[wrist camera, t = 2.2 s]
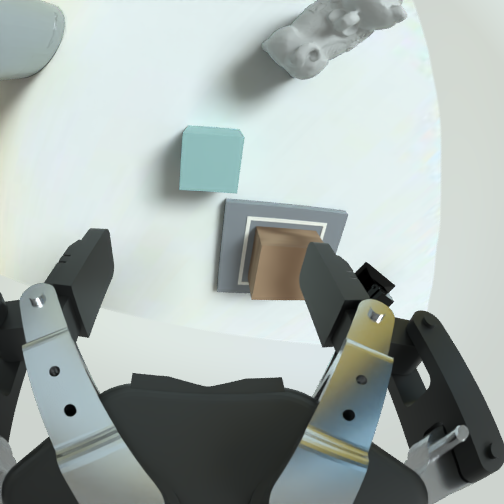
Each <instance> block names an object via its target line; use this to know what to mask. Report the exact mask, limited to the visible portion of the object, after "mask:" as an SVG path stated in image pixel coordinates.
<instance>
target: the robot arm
mask: <svg viewBox="0 0 504 504" xmlns="http://www.w3.org/2000/svg"><path fill="white" fill-rule="evenodd" d="M64 25H65V21H64V15H63V13H62V11H61V10H60V8H59V7H57V6H55V5H53V4H50V3H47V2H45V1H42V0H0V80H9V79H17V78H25V77H29V76H31V75H33V74H35V73H37V72H38V71H39V70H41V69H42V68H43V67H44V66H45V65H46V64H47V63H48V62H49V60H50V59H51V58H52V56H53V55H54V54H55V52H56V50H57V48H58V46H59V44H60V42H61V39H62V36H63V32H64ZM113 272H114V261H113V255H112V247H111V240H110V233H109V230H108V229H95V228H90V229H89V230H88V232H87V233H86V234H85V236H84V237H83V238H82V240H78V241H76V242H75V243H73V244H72V245H71V246H69V247H68V249H67V250H66V251H65V253H64V254H63V256H62V257H61V258H60V260H59V263H57V264H56V266H55V267H54V269H53V270H52V272H51V273H50V275H49V276H48V278H47V279H46V281H45V282H44V283H40V284H36V285H33V286H31V287H29V288H28V289H27V290H26V291H25V292H24V293H23V294H22V296H21V298H20V300H15V301H8V302H5V301H4V299H3V297H2V294H1V293H0V504H434V503H436V502H437V501H439V500H441V499H443V498H445V497H446V496H448V495H449V494H452V493H454V492H456V491H459V490H461V489H463V488H465V487H467V486H469V485H471V484H473V483H475V482H477V481H479V480H481V479H483V478H485V477H487V476H488V475H490V474H492V473H493V472H495V471H497V470H498V469H499V468H500V467H501V466H502V465H503V463H504V443H503V440H502V438H501V436H500V433H499V430H498V428H497V425H496V423H495V421H494V419H493V416H492V414H491V412H490V410H489V408H488V406H487V403H486V401H485V399H484V397H483V395H482V393H481V391H480V389H479V387H478V385H477V384H476V382H475V380H474V378H473V376H472V374H471V372H470V370H469V369H468V367H467V365H466V363H465V362H464V360H463V358H462V356H461V355H460V353H459V351H458V349H457V348H456V346H455V344H454V343H453V341H452V340H451V338H450V336H449V335H448V333H447V332H446V330H445V329H444V327H443V325H442V324H441V322H440V321H439V320H438V319H437V318H436V317H435V316H434V315H433V314H431V313H429V312H426V311H416V312H415V313H414V315H413V316H412V318H411V320H405V319H400V318H395V317H394V314H393V312H392V310H391V309H390V308H389V307H388V306H387V305H385V304H384V303H382V302H380V301H377V300H373V299H371V298H370V297H369V295H368V294H367V292H366V290H365V289H364V287H363V286H362V284H361V283H360V281H359V279H357V276H356V275H355V273H353V270H352V269H351V267H350V266H349V264H348V263H347V262H346V261H345V260H344V259H342V258H341V257H340V256H337V255H336V254H335V252H334V251H333V249H332V248H331V246H330V245H329V244H328V243H319V242H310V243H309V244H308V247H307V250H306V254H305V257H304V261H303V264H302V268H301V271H300V276H299V285H300V289H301V291H302V294H303V297H304V299H305V302H306V304H307V307H308V310H309V312H310V315H311V318H312V320H313V323H314V326H315V328H316V331H317V334H318V336H319V339H320V342H321V344H322V347H334V348H335V352H334V354H333V356H332V358H331V360H330V362H329V364H328V366H327V368H326V370H325V373H324V375H323V377H322V379H321V381H320V383H319V385H318V387H317V389H316V390H315V393H314V394H313V396H312V397H311V396H308V395H307V394H305V393H302V392H299V391H296V390H293V389H289V388H284V385H283V381H282V378H281V377H279V378H255V379H243V380H239V381H234V382H230V383H225V384H220V385H216V386H211V387H206V386H201V385H197V384H193V383H190V382H186V381H182V380H179V379H175V378H172V377H167V376H155V375H146V374H136V373H133V375H132V381H131V384H124V385H120V386H116V387H113V388H111V389H108V390H107V391H104V392H103V393H101V394H100V392H99V390H98V388H97V387H96V385H95V383H94V381H93V379H92V377H91V375H90V373H89V371H88V368H87V366H86V364H85V362H84V360H83V358H82V355H81V353H80V351H79V349H78V346H77V344H76V341H77V338H78V336H82V337H87V338H88V337H89V336H90V333H91V330H92V327H93V325H94V322H95V319H96V316H97V314H98V311H99V309H100V306H101V304H102V301H103V299H104V296H105V294H106V291H107V289H108V286H109V284H110V282H111V279H112V277H113ZM421 361H423V363H424V365H425V367H426V369H427V371H428V373H429V375H430V380H431V382H430V386H429V388H428V389H427V390H426V388H425V386H424V384H423V382H422V379H421V377H420V375H419V373H418V371H417V369H416V368H417V366H418V365H419V364H420V363H421ZM26 370H27V372H28V376H29V380H30V383H31V387H32V390H33V393H34V396H35V400H36V402H37V406H38V409H39V411H40V414H41V417H42V419H43V422H44V425H45V427H46V430H47V432H48V435H49V437H48V438H47V439H46V440H44V441H43V442H42V443H41V444H40V445H38V446H37V447H36V448H35V449H34V450H33V451H31V452H30V453H29V454H28V455H26V456H25V457H24V458H23V459H22V460H21V461H19V462H18V463H17V464H16V460H15V458H14V457H13V456H12V451H11V448H10V445H9V444H8V442H9V437H10V431H11V426H12V421H13V417H14V412H15V408H16V404H17V400H18V397H19V393H20V389H21V386H22V382H23V379H24V376H25V373H26ZM387 388H388V390H389V392H390V395H391V398H392V400H393V403H394V405H395V408H396V411H397V414H398V417H399V419H400V422H401V425H402V428H403V431H404V434H405V437H406V440H407V443H408V446H409V449H410V450H409V452H408V460H406V461H405V463H404V464H403V463H402V462H400V461H399V460H397V459H396V458H394V457H393V456H391V455H390V454H388V453H387V452H386V451H384V450H383V449H381V448H380V447H378V446H377V445H375V444H374V443H373V442H372V440H373V437H374V434H375V431H376V427H377V424H378V421H379V418H380V414H381V410H382V407H383V404H384V400H385V396H386V392H387Z"/></svg>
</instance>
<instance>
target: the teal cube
mask: <svg viewBox="0 0 504 504" xmlns="http://www.w3.org/2000/svg"><path fill="white" fill-rule="evenodd" d="M243 144H244V136H243V134H242V133H241V131H240V129H229V128H218V127H204V126H188V127H187V128H186V129H185V131H184V132H183V137H182V151H181V166H180V186H179V190H192V191H209V192H224V193H237V189H238V181H239V174H240V166H241V159H242V151H243Z"/></svg>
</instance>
